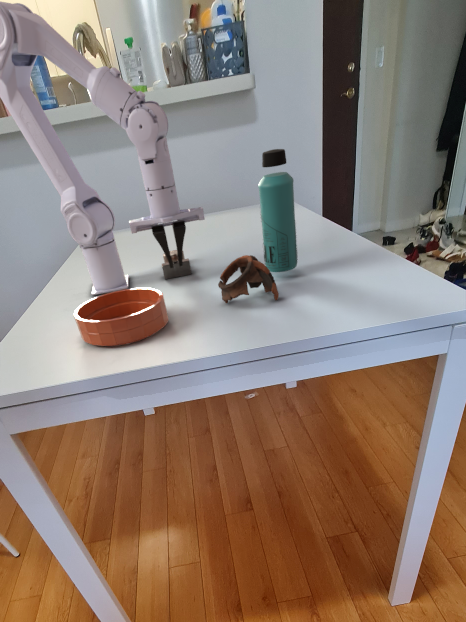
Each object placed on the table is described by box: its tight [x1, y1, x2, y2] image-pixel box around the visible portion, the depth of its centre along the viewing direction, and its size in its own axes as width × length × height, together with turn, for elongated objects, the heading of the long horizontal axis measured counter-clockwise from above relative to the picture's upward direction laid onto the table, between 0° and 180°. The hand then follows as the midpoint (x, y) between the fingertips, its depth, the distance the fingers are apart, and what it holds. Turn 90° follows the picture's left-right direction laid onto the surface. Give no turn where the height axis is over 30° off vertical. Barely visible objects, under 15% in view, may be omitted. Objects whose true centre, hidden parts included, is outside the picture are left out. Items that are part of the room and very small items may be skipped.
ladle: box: [162, 249, 186, 263], centre depth 99 cm, size 19×5×6 cm, turn 10°
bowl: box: [73, 287, 169, 347], centre depth 78 cm, size 15×15×4 cm
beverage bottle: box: [257, 148, 299, 273], centre depth 83 cm, size 6×7×20 cm
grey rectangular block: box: [161, 258, 192, 280], centre depth 99 cm, size 2×6×3 cm, turn 100°
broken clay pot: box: [217, 254, 280, 304], centre depth 81 cm, size 12×10×8 cm
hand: (176, 265), depth 94 cm, fingers closed on ladle
